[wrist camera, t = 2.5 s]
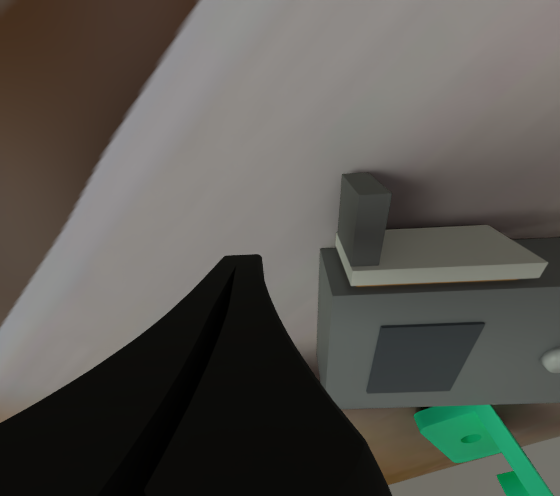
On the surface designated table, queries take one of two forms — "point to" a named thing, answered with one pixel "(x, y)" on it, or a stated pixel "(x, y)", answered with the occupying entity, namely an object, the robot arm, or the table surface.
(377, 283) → the side door
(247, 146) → the table surface
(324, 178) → the table surface
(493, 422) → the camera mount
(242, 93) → the table surface
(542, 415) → the table surface
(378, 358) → the camera body
